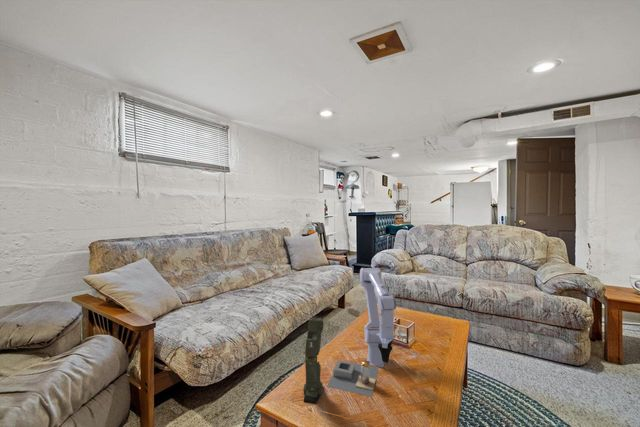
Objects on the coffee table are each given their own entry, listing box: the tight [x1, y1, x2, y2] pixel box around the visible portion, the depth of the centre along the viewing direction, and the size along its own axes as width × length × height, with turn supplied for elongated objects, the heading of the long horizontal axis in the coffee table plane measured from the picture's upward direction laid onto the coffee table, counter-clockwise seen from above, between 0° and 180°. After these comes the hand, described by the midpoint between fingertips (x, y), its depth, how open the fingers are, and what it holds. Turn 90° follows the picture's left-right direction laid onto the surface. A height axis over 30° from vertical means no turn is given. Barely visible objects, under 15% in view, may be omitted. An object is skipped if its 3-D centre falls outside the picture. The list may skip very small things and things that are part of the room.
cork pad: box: [356, 376, 377, 392], centre depth 112 cm, size 7×7×1 cm
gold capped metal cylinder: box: [360, 359, 371, 384], centre depth 112 cm, size 3×3×8 cm
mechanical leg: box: [303, 315, 324, 405], centre depth 107 cm, size 14×7×30 cm, turn 169°
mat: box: [326, 362, 379, 398], centre depth 117 cm, size 20×18×1 cm
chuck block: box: [332, 359, 356, 380], centre depth 119 cm, size 8×8×3 cm
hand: (386, 357), depth 114 cm, fingers open, 7 cm apart
